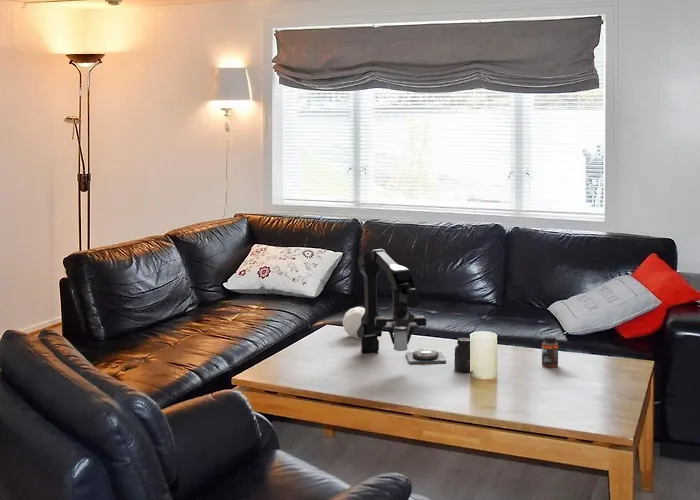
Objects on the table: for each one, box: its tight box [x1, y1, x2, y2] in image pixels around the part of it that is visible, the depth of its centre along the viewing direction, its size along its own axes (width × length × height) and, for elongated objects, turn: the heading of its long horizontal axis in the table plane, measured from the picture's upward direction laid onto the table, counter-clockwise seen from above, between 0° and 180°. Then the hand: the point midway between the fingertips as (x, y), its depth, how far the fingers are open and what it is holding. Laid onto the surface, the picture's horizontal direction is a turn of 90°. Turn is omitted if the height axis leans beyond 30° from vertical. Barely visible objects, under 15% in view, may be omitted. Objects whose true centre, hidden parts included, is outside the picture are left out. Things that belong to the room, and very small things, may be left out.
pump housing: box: [393, 326, 408, 352], centre depth 304 cm, size 5×5×8 cm
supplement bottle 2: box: [541, 334, 559, 369], centre depth 306 cm, size 6×6×11 cm
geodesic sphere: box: [342, 305, 365, 340], centre depth 350 cm, size 14×14×14 cm
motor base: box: [405, 347, 447, 365], centre depth 318 cm, size 14×12×3 cm
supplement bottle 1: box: [453, 337, 471, 374], centre depth 302 cm, size 7×7×12 cm
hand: (400, 343), depth 304 cm, fingers closed on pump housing, 5 cm apart
